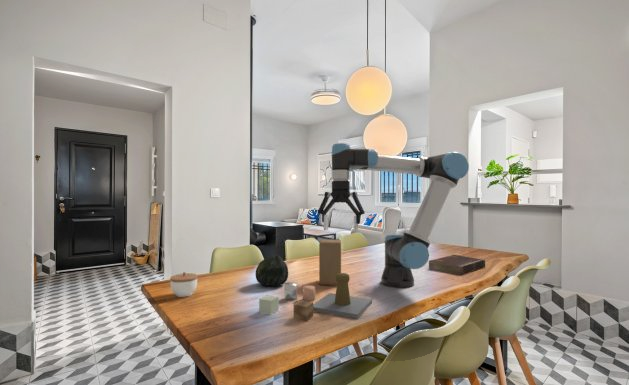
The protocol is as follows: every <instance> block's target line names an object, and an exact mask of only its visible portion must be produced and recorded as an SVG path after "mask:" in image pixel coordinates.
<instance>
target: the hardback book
mask: <svg viewBox="0 0 629 385" xmlns="http://www.w3.org/2000/svg"><path fill="white" fill-rule="evenodd" d="M485 267H486V259H482V258H475V257H470V256H464V255H457V254H452V255H447V256H443V257H438V258H435V259H429V260H428V269H429V270H434V271H438V272H442V273H443V272H444V273H449V274H455V275H460V276H462V275H465V274H468V273H472V272H475V271H478V270H481V269H483V268H485Z"/></svg>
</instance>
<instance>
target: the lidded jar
mask: <svg viewBox="0 0 629 385" xmlns="http://www.w3.org/2000/svg"><path fill="white" fill-rule="evenodd" d="M198 278H199V276H198V274H197V273H192V272H191V273H190V272H189V273H187V272H185V271H183V272H182V273H180V274H179V273H178V274H175V275H172V276H170V289H171V291H172V293H173V294H174V296H175V295H176V297H178V298H185V297H189V296H192V295H193V293H194V292H195V291H196V289H197V287H198Z"/></svg>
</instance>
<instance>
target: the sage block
mask: <svg viewBox="0 0 629 385" xmlns="http://www.w3.org/2000/svg"><path fill="white" fill-rule="evenodd" d="M258 300H259V301H258V306H259V307H258V312H259V314H265V315H270V316H271V315H273V314H275V313H277V312H279V308H280V307H279V303H280V301H279V296H275V295H271V294H269V295H268V294H267V295H264V296H262V297H260V298H259V299H258Z"/></svg>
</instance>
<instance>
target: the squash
mask: <svg viewBox="0 0 629 385" xmlns="http://www.w3.org/2000/svg"><path fill="white" fill-rule="evenodd" d="M288 278H289V268H288V264H287V263H286V262H285V260H284V259H283V258H282V257H281V256H280V255H278V254H273V255H271V256H269V257H266V258H264V259H262V260H261V261H260V262H259V263H258V265H257V266H256V269H255V279H256V281H257V283H259V285H261V286H264V287H265V286H272V287H281V286H283V285H285V283H287V281H288Z"/></svg>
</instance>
